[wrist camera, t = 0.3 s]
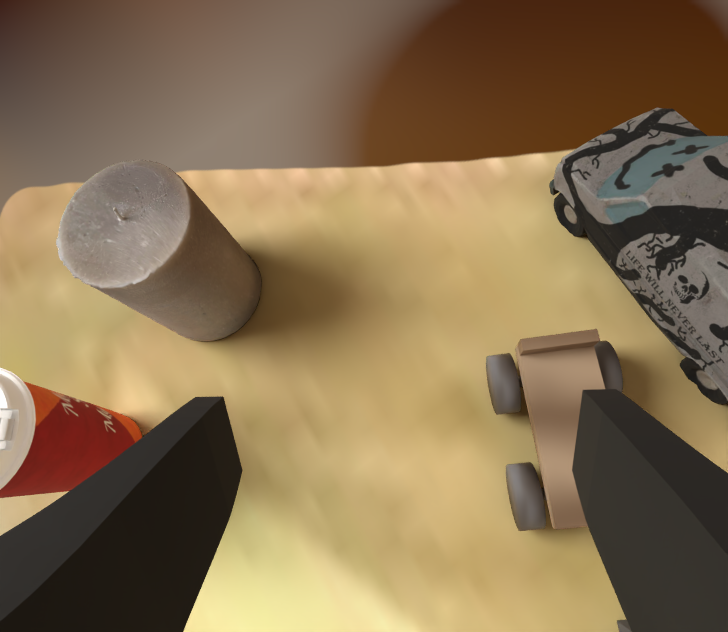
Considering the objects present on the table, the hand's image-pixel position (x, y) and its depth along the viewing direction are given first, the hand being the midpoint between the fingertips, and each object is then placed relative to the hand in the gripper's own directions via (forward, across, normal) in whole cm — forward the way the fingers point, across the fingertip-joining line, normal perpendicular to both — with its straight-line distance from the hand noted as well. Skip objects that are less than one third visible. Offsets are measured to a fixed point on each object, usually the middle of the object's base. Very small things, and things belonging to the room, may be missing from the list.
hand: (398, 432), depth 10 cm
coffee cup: (+23, +26, +21) cm, 41 cm away
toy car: (+32, -22, +11) cm, 40 cm away
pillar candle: (+33, +19, +11) cm, 39 cm away
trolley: (+23, -10, +20) cm, 32 cm away
